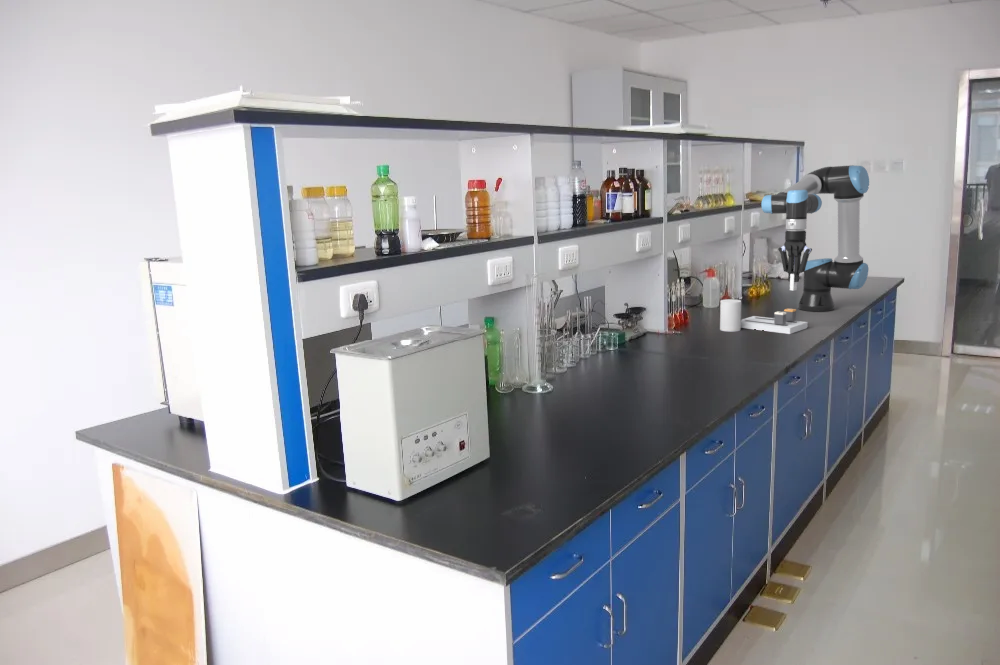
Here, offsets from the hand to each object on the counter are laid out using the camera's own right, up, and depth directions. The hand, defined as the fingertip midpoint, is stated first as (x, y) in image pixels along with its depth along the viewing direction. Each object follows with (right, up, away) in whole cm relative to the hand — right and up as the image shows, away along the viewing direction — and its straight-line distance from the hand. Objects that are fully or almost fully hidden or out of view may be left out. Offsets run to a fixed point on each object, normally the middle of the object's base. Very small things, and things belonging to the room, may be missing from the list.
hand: (793, 289), depth 290 cm
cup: (-21, -16, +14) cm, 29 cm away
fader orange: (+3, -12, +12) cm, 17 cm away
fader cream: (-3, -13, +6) cm, 15 cm away
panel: (-4, -15, +14) cm, 21 cm away
